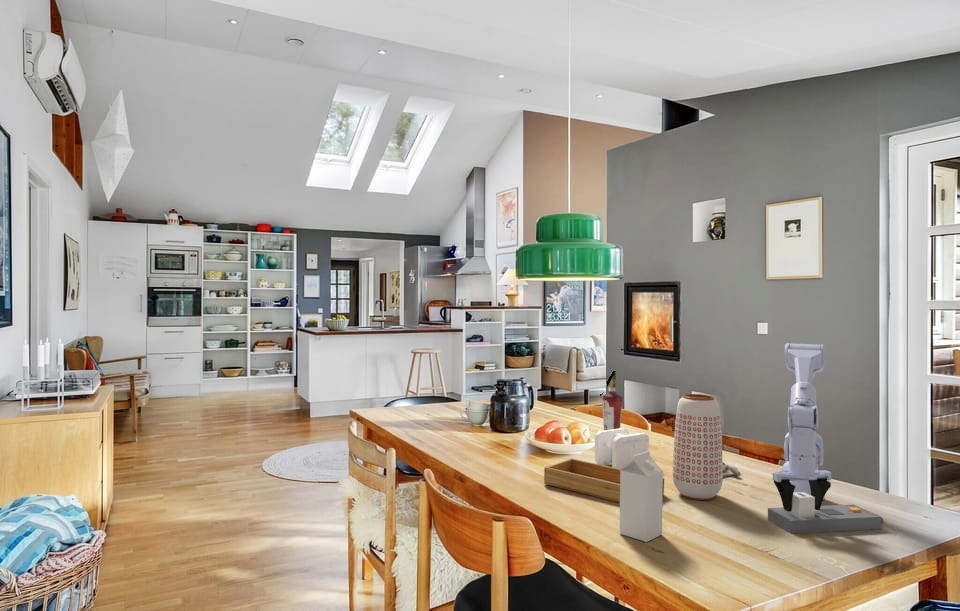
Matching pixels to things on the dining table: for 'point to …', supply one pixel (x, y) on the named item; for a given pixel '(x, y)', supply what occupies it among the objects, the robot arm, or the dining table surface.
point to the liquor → (612, 407)
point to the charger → (803, 505)
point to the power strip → (827, 519)
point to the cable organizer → (619, 447)
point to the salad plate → (729, 470)
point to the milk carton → (641, 498)
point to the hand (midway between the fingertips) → (801, 509)
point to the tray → (586, 478)
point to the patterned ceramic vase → (698, 447)
